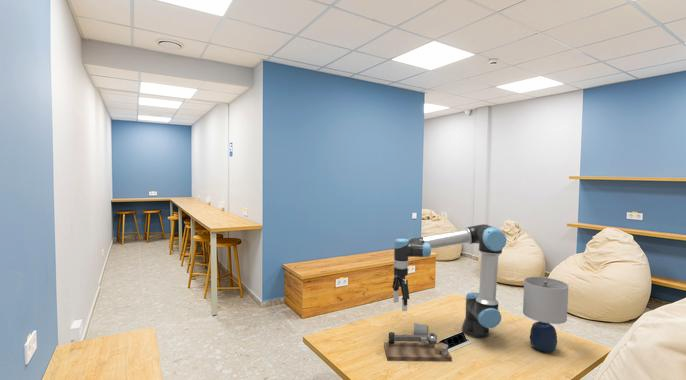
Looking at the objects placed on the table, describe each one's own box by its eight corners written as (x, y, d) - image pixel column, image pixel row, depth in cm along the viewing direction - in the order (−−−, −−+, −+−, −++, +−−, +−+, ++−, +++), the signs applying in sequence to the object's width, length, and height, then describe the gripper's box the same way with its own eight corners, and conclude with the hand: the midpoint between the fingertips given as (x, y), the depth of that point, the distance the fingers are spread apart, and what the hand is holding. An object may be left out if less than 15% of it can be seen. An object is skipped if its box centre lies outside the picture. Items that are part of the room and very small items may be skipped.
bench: (443, 346, 191) (443, 335, 190) (451, 361, 176) (452, 349, 175) (383, 345, 191) (384, 334, 190) (387, 360, 176) (387, 348, 175)
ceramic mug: (428, 341, 196) (428, 327, 196) (413, 339, 198) (413, 326, 198) (427, 333, 207) (428, 320, 206) (413, 331, 208) (413, 318, 208)
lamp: (559, 343, 195) (562, 278, 193) (570, 362, 176) (573, 289, 174) (519, 337, 202) (521, 274, 200) (524, 354, 183) (527, 284, 181)
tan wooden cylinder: (441, 350, 182) (441, 343, 182) (443, 354, 178) (443, 347, 178) (433, 350, 182) (433, 343, 182) (435, 354, 178) (435, 347, 178)
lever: (435, 340, 189) (435, 331, 189) (438, 345, 184) (438, 336, 184) (387, 340, 189) (388, 331, 189) (389, 345, 184) (389, 335, 184)
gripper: (387, 262, 203) (386, 298, 204) (402, 274, 179) (401, 315, 180) (399, 261, 205) (398, 298, 206) (416, 273, 181) (415, 314, 182)
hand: (400, 306), depth 193 cm, fingers open, 12 cm apart
